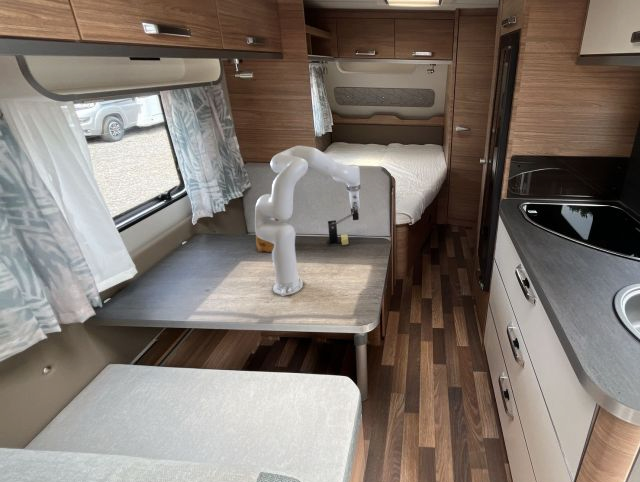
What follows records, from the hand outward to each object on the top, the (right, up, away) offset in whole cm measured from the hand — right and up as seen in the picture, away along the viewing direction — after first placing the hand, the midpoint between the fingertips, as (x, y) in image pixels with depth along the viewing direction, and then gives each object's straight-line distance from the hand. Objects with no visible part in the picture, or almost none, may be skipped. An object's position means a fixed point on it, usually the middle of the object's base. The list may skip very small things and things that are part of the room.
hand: (354, 216), depth 189 cm
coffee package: (-46, -17, -5) cm, 49 cm away
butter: (-6, -15, +2) cm, 16 cm away
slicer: (-12, -15, +2) cm, 20 cm away
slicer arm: (-5, -3, -1) cm, 6 cm away
